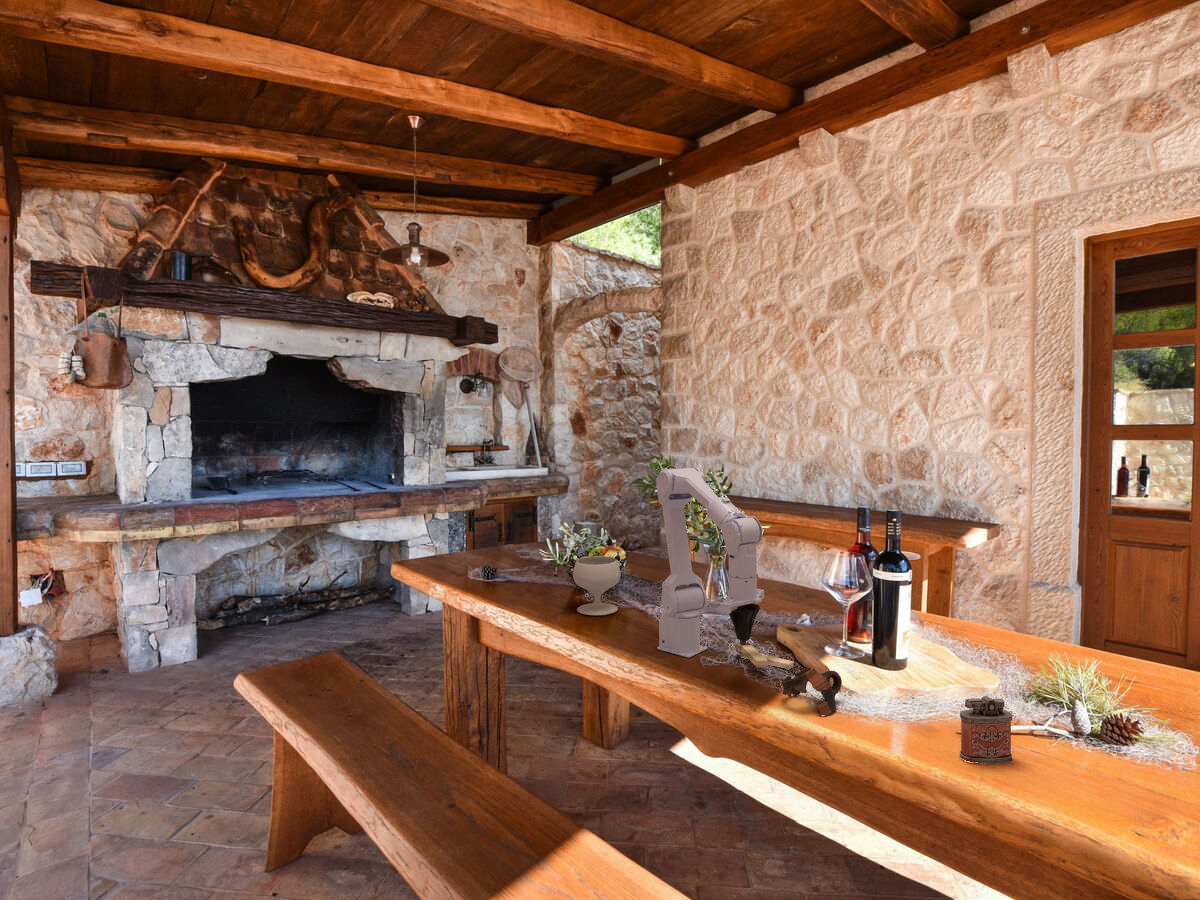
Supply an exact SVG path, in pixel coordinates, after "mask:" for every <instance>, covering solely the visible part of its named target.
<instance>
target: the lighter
mask: <svg viewBox="0 0 1200 900" xmlns="http://www.w3.org/2000/svg"><path fill="white" fill-rule="evenodd" d="M964 707H966V708H967V709H964V710H960V711H959V717H960V719H961V720H960V722H961V723H960V732H961V733H960V734H961V735H960V737H961V738H960V743H961V744H960V751H959V758H960V757H961V758H962V759H964V760H966V761H970V762H978V763H983V764H982V765H1000V764H1006V763H1007V764H1008V763H1011V762H1012V761H1013V754H1012V751H1011V750H1012V748H1011V747H1012V746H1011V745H1012V721H1013V713H1012V712H1010V711H1008V710H1005V700H1004V699H1003V698H999V697H998V698H991V697H990V696H988V695H983V696H982V697H981V698H979V697H978V698H977V697H976V698H975V697H974V698H972V697H971V698H966V699H965V700H964ZM984 763H985V764H984Z"/></svg>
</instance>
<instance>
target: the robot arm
mask: <svg viewBox="0 0 1200 900" xmlns="http://www.w3.org/2000/svg"><path fill="white" fill-rule="evenodd" d="M656 477H657V478H656V480H655V481H656V482H655V483H656V491H657V497H658V503H659V504H660V505H661V508H662V513H663V523H664V529H665V531H664V532H665V538H666V539H665V540H666V547H667V555H668V562H669V569H670V575H668V576H667V578H665V580H664V581H662V583H661V589H662V590H661V591H662V593H661V597H660V599H661V600H660V601H661V604H662V609H663V610H664V611H663V612H662V613H661V615H660V617H659V623H658V630H659V631H658V635H659V639H658V645H659V646H657V650H660V651H664V652H667V653H671V654H673V655H674V654H675V655H677V656H681V657H685V658H688V659H689V658H691V657H693V656H695V655H697V654H700V653H702V652H704V651H706V650H707V649H708V647H707V646H706V645H702V644H701V638H700V637H701V636H700V635H701V633H700V625H701V624H700V621H701V620H700V619H701V618H700V615H703V614H702V613H703V610H704V609H705V608H706V606H707V603H708V597H707V596H708V595H707V592H706V590H705V588H704V585H703V579H702V578H701V577H699V576H698V575H697V574H695V572H693V566H692V560H691V558H692V557H691V552H690V546H689V545H690V543H689V537H688V529H687V522H686V515H685V506H686V505H687V504H688V503H689V502H691V501H692V500H693V499H695V500H696V501H698V502H699V503H700V504H701V505H703V507H704V508H706V509H707V510H706V515H707V517H708V518H709V519H710V521H712V522H713V524H715V526H716V527H718V528H719V530H721V535H722V540H723V541H724V543H725V551H726V554H727V555H728V594H727V596H726V598H725V599H724V600H723V601H722V602H720V603H719V610H720V613H723V614H728V616H729V618H730V620H731V622H732V625H733V628H734V632H735V635H736V639H737V640H738V641H740V640H741V641H746V642H747V641H750V638H751V635H752V630H753V626H754V622H755V619H756V617H757V615H758V613H759V612H760V610H761V606H760V605H759V604H760V603H762V601H763V599H765V589H761V588H758V585H757V584H758V582H757V581H758V578H757V577H758V576H757V574H758V573H757V567H758V566H757V564H758V563H757V562H758V561H757V555H758V554H757V544H759V543H760V542H761V541H762V538H763V528H762V524H761V522H760V521H759V519H758V518H757V517H756V516H754V515H753V516H752V515H751V516H748V515H745V514H743V512H742V511H741V510H740V509H738V508H737V506H735V505H734V504H733V503H732V502H731V499H729V497H724V496H721V497H719V496H718V495H717V494H716V493H715V492H714V491H713V489H712V488H711V486H710V485H708V483H707V482H706V481H705V474H704V472H702V471H701V470H700V468H698V467H697V466H692V467H685V468H684V467H682V468H663V469H661V470H660V472H659V473H658V474H657V476H656Z"/></svg>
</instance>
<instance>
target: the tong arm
mask: <svg viewBox="0 0 1200 900" xmlns="http://www.w3.org/2000/svg"><path fill="white" fill-rule="evenodd" d="M754 645H755V644H754V643H753V642H751V641H750V640H747V641H746V645H743V646H742V645H741V644H740V641H739V642H738V641H734V649H735V650H736V649H737V650H738V651H739V652H742V653H743V654H744V655H745V656H746V657H747V658H748V659H749V660H750V661H749V660H748V661H749V662H750V663H752V664H753V665H754V666H755V667H756V669H757V668H768V660H767V659H766V658H765V657H764V656H762V655H761V654H762V653H761V652H760V651H758V650H757V649H756V648H755V646H754ZM760 653H761V654H760Z"/></svg>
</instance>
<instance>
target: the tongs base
mask: <svg viewBox="0 0 1200 900" xmlns="http://www.w3.org/2000/svg"><path fill="white" fill-rule="evenodd" d="M739 643H740V644H741V645H742V646H743V645H747V641H741V640H739ZM735 651H736V652H737V653H738V654H739V658H740V657H741V658H747V657H746V656H745V655H744V654H743V653H742V652H739V651H738V650H737V649H736V648H735ZM759 653H760V654H761V655H762V656H764V657H765V658H766V659H767V660H768V664H770V665H773V666H777V667H781V668H785V669H788V670H789V669H790V668H791V667H793V666H794V664H795V663H794V661H793V660H788V659H784V658H780V657H776V656H773V655H770V654H766V653H762V652H759ZM741 658H740V659H741ZM747 659H748V658H747ZM789 671H790V670H789Z"/></svg>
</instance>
